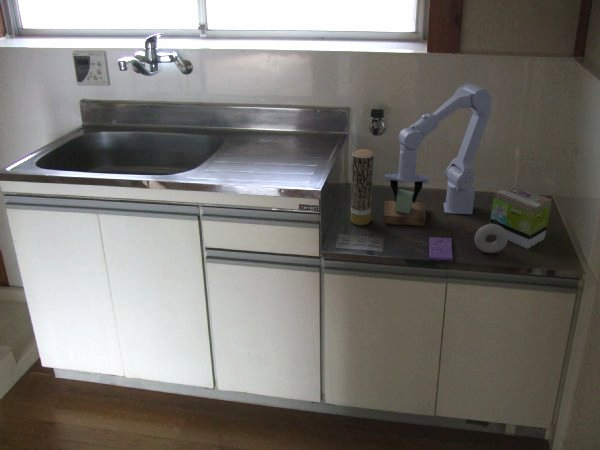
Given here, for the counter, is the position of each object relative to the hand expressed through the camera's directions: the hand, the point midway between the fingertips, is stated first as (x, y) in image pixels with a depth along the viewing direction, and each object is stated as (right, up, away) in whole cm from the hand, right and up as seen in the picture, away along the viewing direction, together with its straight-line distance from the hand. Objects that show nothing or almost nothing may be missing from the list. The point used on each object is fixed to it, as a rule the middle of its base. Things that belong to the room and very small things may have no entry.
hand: (405, 201), depth 219 cm
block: (-1, -3, 0) cm, 3 cm away
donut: (+23, -17, -20) cm, 35 cm away
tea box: (+34, -12, -11) cm, 38 cm away
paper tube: (-15, -7, 0) cm, 17 cm away
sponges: (+8, -17, -18) cm, 26 cm away
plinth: (0, -5, +3) cm, 6 cm away
